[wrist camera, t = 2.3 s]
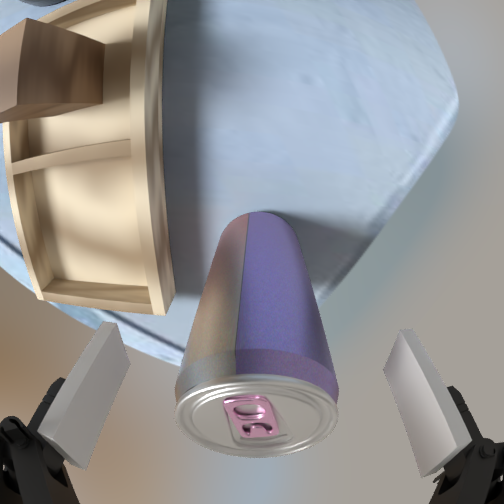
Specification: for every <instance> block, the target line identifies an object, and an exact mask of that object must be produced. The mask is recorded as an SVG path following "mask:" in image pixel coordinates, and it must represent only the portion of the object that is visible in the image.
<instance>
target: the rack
mask: <svg viewBox="0 0 504 504" xmlns="http://www.w3.org/2000/svg"><path fill="white" fill-rule="evenodd" d="M166 8H167V0H77V1H74V2H72V3H70V4H68V5H65V6H63V7H61V8H59V9H57V10H55V11H53V12H51V13H49V14H47V15H45V16H43V17H41V18H40V19H38V20H37V21H41V22H44V23H47V24H51V25H54V26H57V27H60V28H63V29H66V30H69V31H72V32H75V33H78V34H81V35H84V36H86V37H89V38H92V39H94V40H97V41H99V42H102V43H104V44H105V55H104V72H103V104H100V105H96V106H91V107H87V108H83V109H79V110H75V111H72V112H68V113H64V114H61V115H58V116H54V117H43V118H33V119H25V120H18V121H11V122H5V123H3V144H4V157H5V168H6V176H7V184H8V190H9V196H10V202H11V208H12V213H13V217H14V222H15V227H16V231H17V235H18V239H19V243H20V246H21V250H22V254H23V257H24V260H25V264H26V267H27V270H28V273H29V276H30V279H31V282H32V285H33V288H34V291H35V293H36V296H37V298H38V299H39V300H44V301H50V302H56V303H62V304H69V305H75V306H82V307H90V308H97V309H105V310H113V311H122V312H131V313H141V314H151V315H162V316H166V314H167V311H168V309H169V307H170V305H171V302H172V300H173V298H174V296H175V293H176V290H175V282H174V275H173V267H172V259H171V251H170V242H169V232H168V222H167V211H166V198H165V184H164V166H163V141H162V71H163V48H164V32H165V19H166Z"/></svg>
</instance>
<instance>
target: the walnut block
mask: <svg viewBox="0 0 504 504" xmlns="http://www.w3.org/2000/svg"><path fill="white" fill-rule="evenodd" d="M104 55H105V44H104V43H102V42H99V41H97V40H94V39H92V38H89V37H86V36H84V35H81V34H78V33H75V32H72V31H69V30H66V29H63V28H60V27H57V26H54V25H51V24H47V23H44V22H41V21H37V20H33V19H29V18H26V19H24V20H22V21H21V22H19V23H18V24H16V25H15V26H13V27H12V28H10V29H9V30H7V31H6V32H4V33H3V34H1V35H0V123H5V122H11V121H18V120H25V119H33V118H43V117H54V116H58V115H61V114H64V113H68V112H72V111H75V110H79V109H83V108H87V107H91V106H96V105H100V104H103V72H104Z"/></svg>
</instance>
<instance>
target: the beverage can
mask: <svg viewBox="0 0 504 504" xmlns="http://www.w3.org/2000/svg"><path fill="white" fill-rule="evenodd" d="M338 395H339V388H338V383H337V379H336V375H335V371H334V367H333V363H332V359H331V355H330V351H329V347H328V343H327V339H326V336H325V332H324V328H323V325H322V321H321V317H320V313H319V310H318V306H317V303H316V299H315V296H314V292H313V289H312V285H311V282H310V278H309V275H308V271H307V268H306V265H305V261H304V258H303V255H302V252H301V248H300V245H299V242H298V239H297V236H296V234H295V232H294V230H293V229H292V227H291V226H290V225H289V224H288V223H287V222H286V221H285V220H283V219H282V218H280V217H278V216H276V215H274V214H271V213H266V212H251V213H247V214H244V215H241V216H239V217H237V218H236V219H234V220H233V221H231V222H230V223H229V224H228V225H227V227H226V228H225V229H224V231H223V233H222V235H221V237H220V240H219V243H218V246H217V249H216V252H215V255H214V258H213V261H212V264H211V268H210V271H209V274H208V277H207V280H206V283H205V286H204V290H203V293H202V296H201V299H200V302H199V306H198V309H197V312H196V315H195V319H194V322H193V325H192V329H191V332H190V335H189V339H188V342H187V346H186V349H185V353H184V356H183V360H182V363H181V367H180V370H179V374H178V377H177V381H176V385H175V396H176V402H177V403H176V406H175V411H174V416H175V421H176V424H177V425H178V427H179V429H180V430H181V431H182V432H183V434H185V435H186V436H187V437H188V438H189V439H191V440H192V441H194V442H195V443H197V444H199V445H201V446H203V447H205V448H208V449H210V450H213V451H216V452H219V453H223V454H227V455H233V456H238V457H249V458H266V457H277V456H283V455H288V454H292V453H295V452H299V451H302V450H305V449H307V448H309V447H312V446H314V445H315V444H317V443H319V442H320V441H322V440H323V439H325V438H326V437H327V436H328V435H329V434H330V433H331V432H332V431H333V430H334V428H335V426H336V424H337V421H338V409H337V400H338Z"/></svg>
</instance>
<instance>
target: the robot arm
mask: <svg viewBox="0 0 504 504" xmlns="http://www.w3.org/2000/svg"><path fill="white" fill-rule="evenodd" d="M20 1H22V2H25V3H28V4H31V5H34V6H40V7H43V6H50V5H53V4H56V3H59V2H62V1H64V0H20ZM129 366H130V361H129V359H128V356H127V353H126V350H125V347H124V344H123V341H122V338H121V335H120V332H119V329H118V326H117V323H112V322H105V321H103V322H102V324H101V325H100V327H99V328H98V330H97V331H96V333H95V334H94V336H93V337H92V339H91V340H90V342H89V343H88V345H87V346H86V348H85V350H84V351H83V353H82V354H81V356H80V357H79V359H78V361H77V362H76V364H75V365H74V367H73V369H72V370H71V372H70V374H69V375H68V377H67V378H66V379H63V378H61V377H60V378H59V379H57V381H55V382H54V383H53V384H52V385H51V386H50V388H49V390H48V391H47V394H46V395H45V396H44V398H43V401H42V402H41V403H40V405H39V406H38V408H37V410H36V412H35V414H34V415H33V417H32V419H31V421H30V423H29V424H28V426H27V427H26V426H25V425H24V424H23V423H22V422H21V420H20V419H19V418H17V417H15V416H8V417H6V418H4V419H3V421H2V422H1V423H0V504H80V503H79V501H78V498H77V496H76V494H75V491H74V489H73V486H72V484H71V481H70V478H69V476H68V473H67V470H66V467H65V466H64V464H63V462H64V459H66V460H67V461H68V462H69V463H70V464H71V465H74V466H76V467H78V468H81V469H83V470H86V469H87V467H88V464H89V461H90V458H91V456H92V453H93V451H94V448H95V445H96V443H97V440H98V438H99V435H100V433H101V430H102V428H103V426H104V423H105V420H106V418H107V416H108V414H109V411H110V409H111V406H112V404H113V402H114V399H115V397H116V395H117V393H118V390H119V388H120V386H121V384H122V381H123V379H124V377H125V375H126V373H127V370H128V368H129ZM383 371H384V373H385V376H386V378H387V381H388V383H389V386H390V388H391V391H392V393H393V396H394V399H395V401H396V404H397V407H398V409H399V412H400V415H401V417H402V420H403V423H404V426H405V428H406V432H407V434H408V437H409V440H410V443H411V446H412V449H413V453H414V456H415V458H416V462H417V465H418V469H419V472H420V475H421V478H422V477H425V476H428V475H431V474H433V473H436V472H437V471H438V470H440V469H441V468H442V467H444V470H445V471H444V472H443V473H441V474H440V475H439V476H437V477H436V478H435V479H434V481H433V483H435V482H436V481H437V480H439V479H440V480H439V482H438V483H437V484H438V485H437V487H436V489H435V492H434V494H433V496H432V499H431V500H430V502H429V504H504V442H503V443H494V442H493V441H492V440H491V439H488V438H483V437H482V435H481V433H480V431H479V429H478V427H477V425H476V423H475V421H474V419H473V417H472V415H471V413H470V411H468V407H467V405H466V404H465V401H464V399H463V397H462V395H461V393H460V392H459V391H458V390H457V389H455V388H454V387H453V386H450V387H446V385H445V383H444V382H443V380H442V378H441V376H440V374H439V372H438V371H437V369H436V367H435V366H434V364H433V362H432V360H431V358H430V357H429V355H428V353H427V352H426V350H425V348H424V346H423V345H422V343H421V341H420V340H419V338H418V336H417V335H416V333H415V331H414V330H413V329H404V330H400V331H399V333H398V336H397V339H396V341H395V343H394V346H393V348H392V351H391V353H390V356H389V358H388V360H387V362H386V365H385V367H384V369H383ZM3 465H5V468H4V470H3ZM502 475H503V480H502V481H501V480H500V476H502Z"/></svg>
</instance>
